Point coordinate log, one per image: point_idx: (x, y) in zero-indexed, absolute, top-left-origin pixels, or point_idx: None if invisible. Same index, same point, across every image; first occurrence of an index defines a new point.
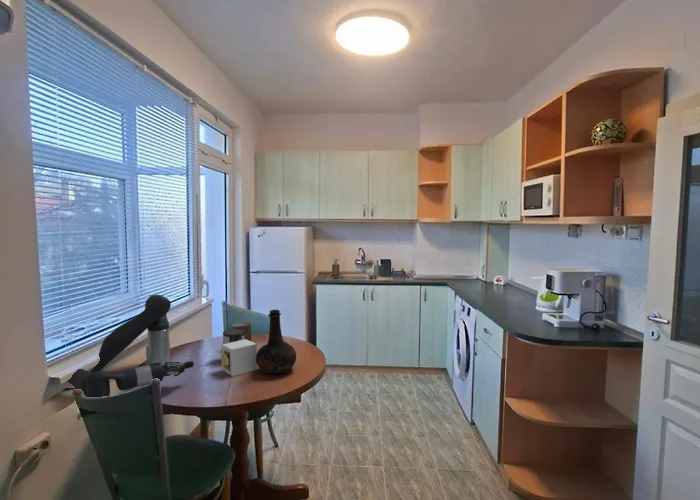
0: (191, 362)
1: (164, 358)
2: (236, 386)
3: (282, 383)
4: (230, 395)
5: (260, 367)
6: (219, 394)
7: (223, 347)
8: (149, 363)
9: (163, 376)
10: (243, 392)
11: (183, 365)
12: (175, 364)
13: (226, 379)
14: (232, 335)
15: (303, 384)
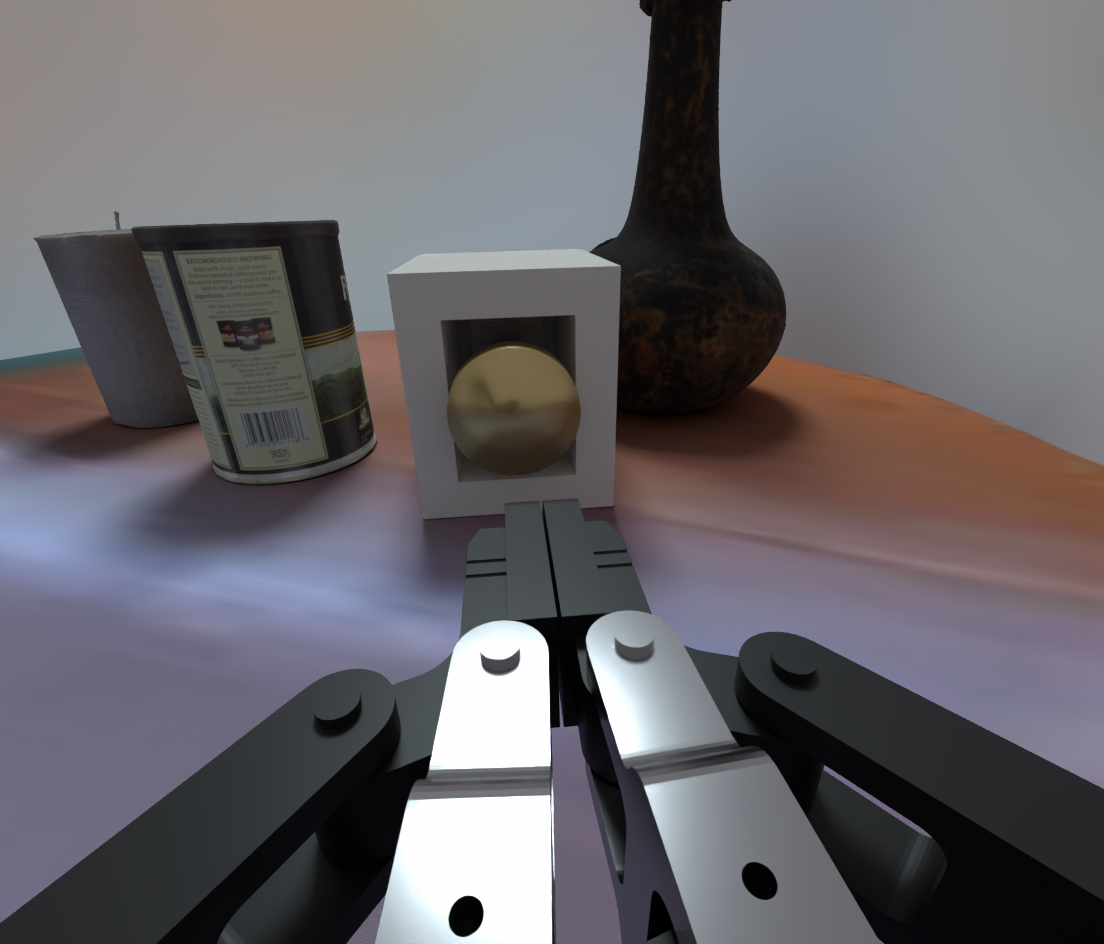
0: (580, 517)
1: None
2: (852, 527)
3: (859, 410)
4: (1084, 589)
5: (701, 380)
6: (1062, 646)
7: (427, 298)
8: None
9: None
10: (1001, 523)
11: (792, 651)
12: (706, 865)
13: (655, 539)
14: (307, 230)
15: (892, 384)
